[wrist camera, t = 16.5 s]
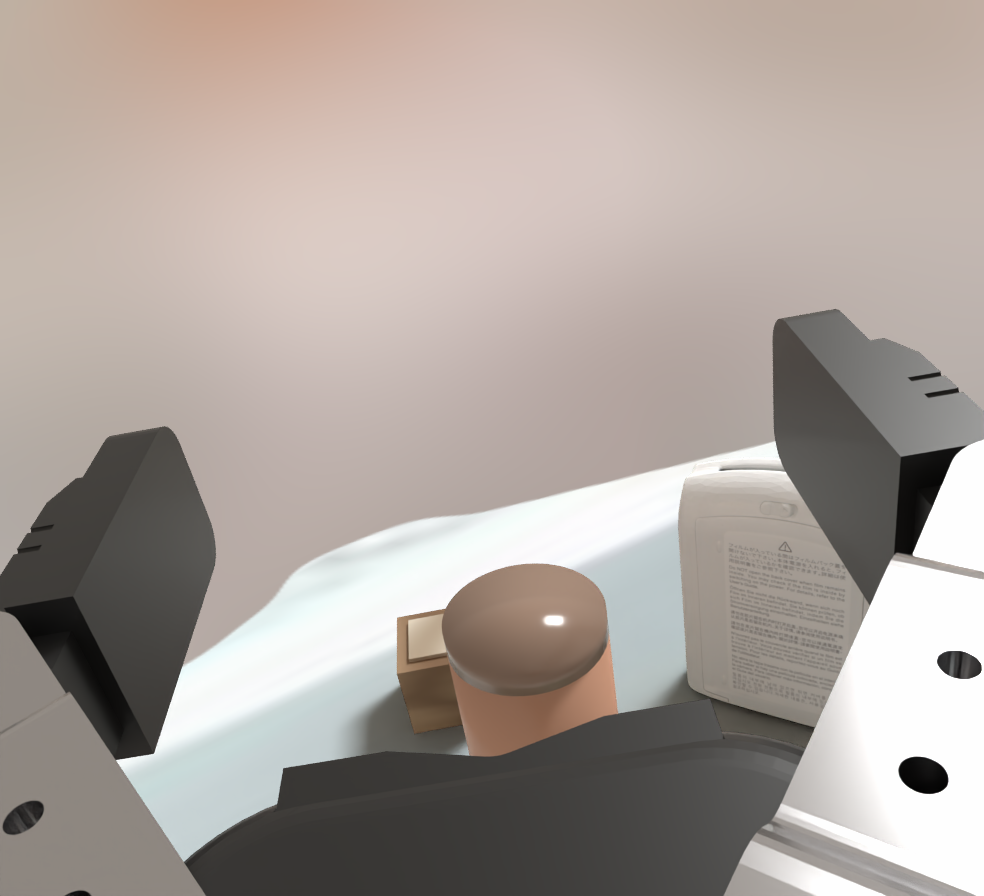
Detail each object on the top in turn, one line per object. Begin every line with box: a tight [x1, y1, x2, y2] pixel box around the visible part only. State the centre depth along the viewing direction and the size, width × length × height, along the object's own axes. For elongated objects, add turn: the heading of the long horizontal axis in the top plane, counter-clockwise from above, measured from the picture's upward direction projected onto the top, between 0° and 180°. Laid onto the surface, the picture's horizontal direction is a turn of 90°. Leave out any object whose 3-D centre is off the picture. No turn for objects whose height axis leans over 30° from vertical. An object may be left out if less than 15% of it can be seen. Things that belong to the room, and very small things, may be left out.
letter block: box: [397, 609, 463, 734], centre depth 45 cm, size 4×4×4 cm
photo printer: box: [678, 458, 870, 727], centre depth 40 cm, size 10×4×12 cm, turn 60°
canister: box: [442, 564, 618, 757], centre depth 34 cm, size 6×6×12 cm
